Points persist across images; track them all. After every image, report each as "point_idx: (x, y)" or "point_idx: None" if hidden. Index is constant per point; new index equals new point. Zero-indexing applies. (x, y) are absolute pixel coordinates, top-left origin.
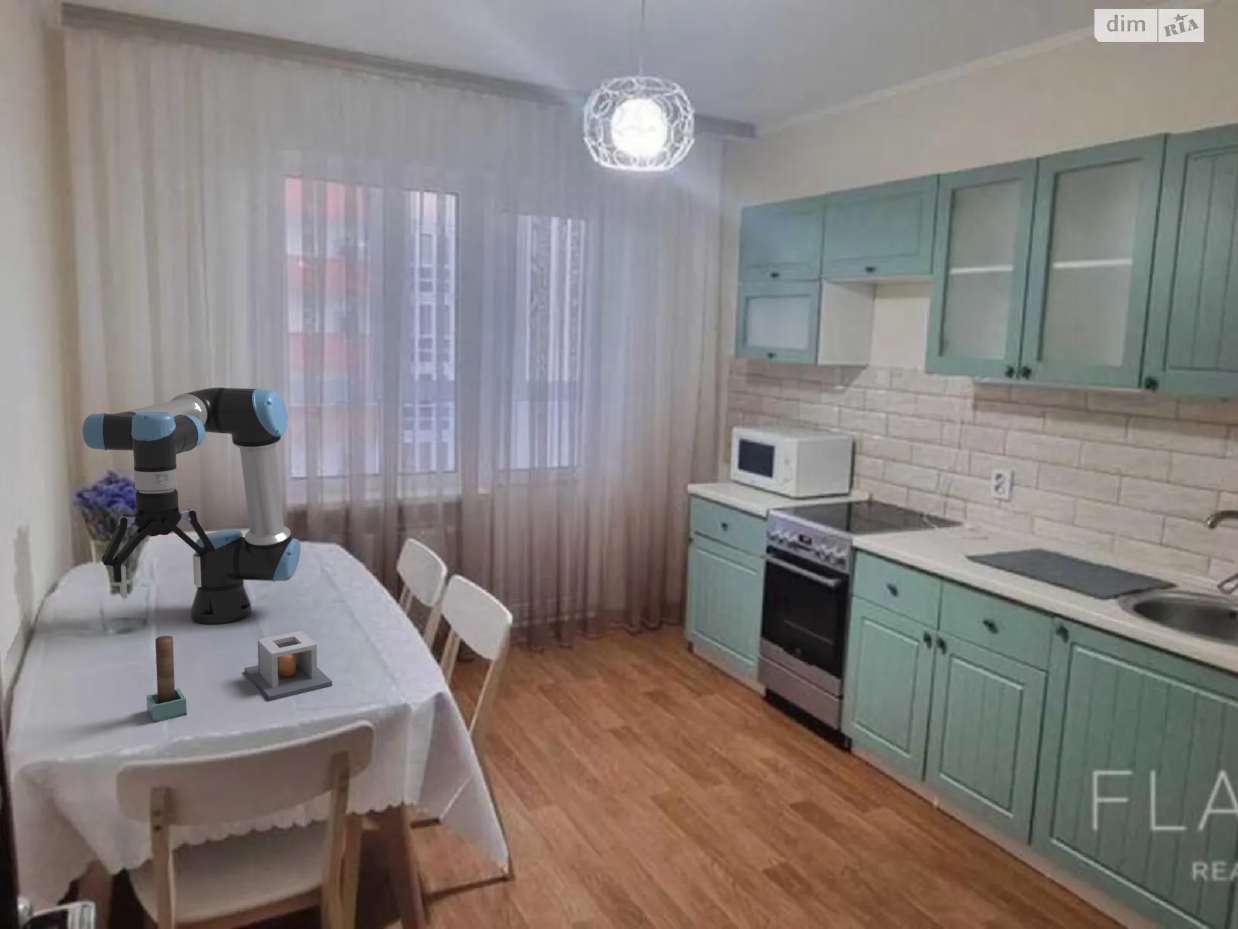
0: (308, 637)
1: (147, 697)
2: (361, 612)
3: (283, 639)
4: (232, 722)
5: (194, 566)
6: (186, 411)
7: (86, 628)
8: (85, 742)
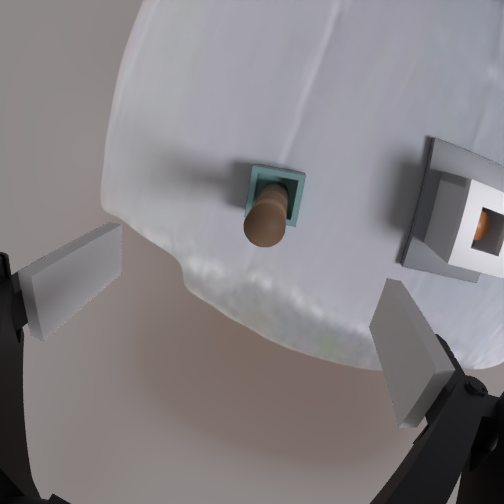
0: None
1: (251, 173)
2: None
3: (496, 211)
4: (330, 285)
5: (404, 348)
6: None
7: None
8: (162, 202)
